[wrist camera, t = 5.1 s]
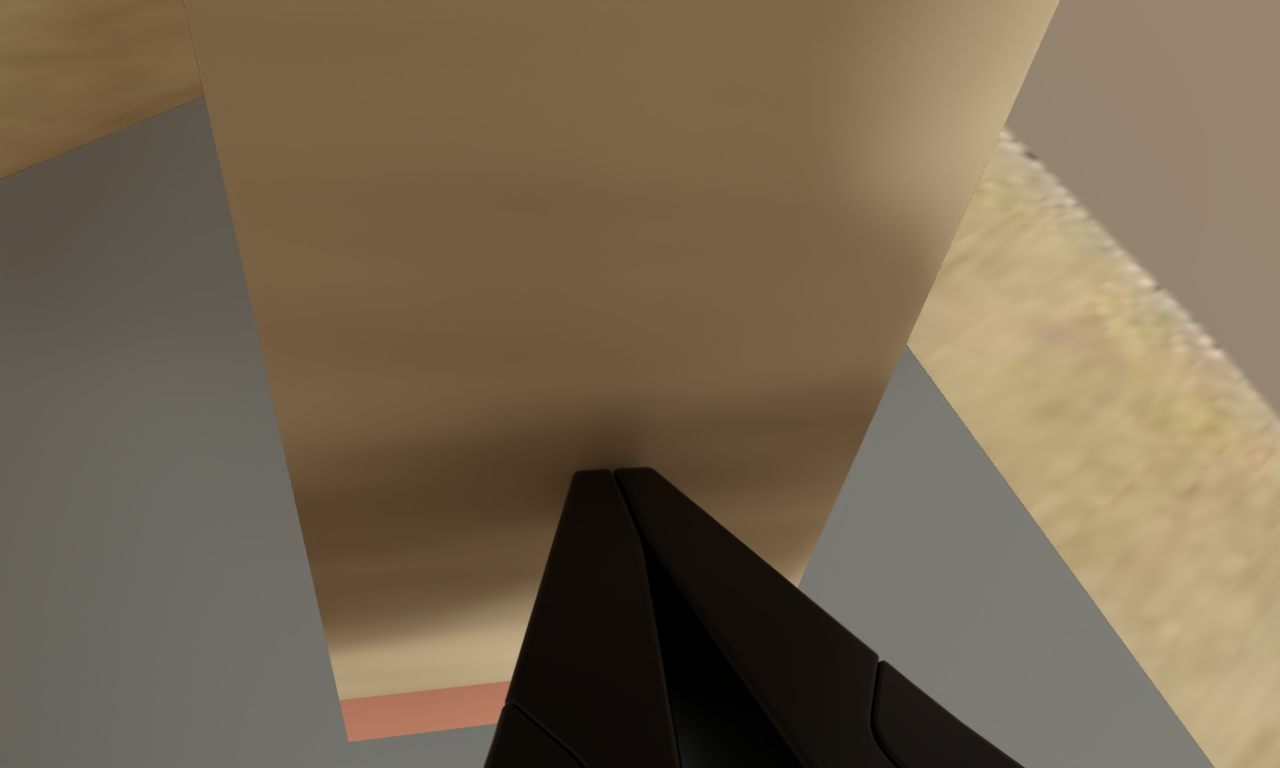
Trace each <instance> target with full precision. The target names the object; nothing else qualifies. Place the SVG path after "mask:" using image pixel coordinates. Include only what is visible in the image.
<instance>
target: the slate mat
mask: <svg viewBox="0 0 1280 768" xmlns="http://www.w3.org/2000/svg"><path fill="white" fill-rule="evenodd" d="M797 588H799V589H800V590H801V591H802V592H803V593H805V594H806V595H807V596H808V597H809V598H811V599H812V600H813V601H814V602H815V603H817V604H818V605H819V606H820V607H822V608H823V609H824V610H825V611H826V612H828V613H829V614H830V615H831V616H832V617H834V618H835V619H836V620H837V621H838V622H840V623H841V624H842V625H843V626H845V627H846V628H847V629H848V630H849V631H851V632H852V633H853V634H854V635H855V636H857V637H858V638H859V639H860V640H861V641H863V642H864V643H865V644H866V645H867V646H869V647H870V648H871V649H872V650H874V651H875V652H876V653H877V654H878V655H879V662H880V661H882V660H885V661H887V662H888V663H890V664H891V665H892V666H893V667H895V668H896V669H897V670H898V671H899V672H901V673H902V674H903V675H904V676H905V677H907V678H908V679H909V680H910V681H911V682H913V683H914V684H915V685H916V686H918V687H919V688H920V689H921V690H923V691H924V692H925V693H926V694H928V695H929V696H930V697H931V698H933V699H934V700H935V701H937V702H938V703H939V704H940V705H942V706H943V707H944V708H945V709H947V710H948V711H949V712H950V713H952V714H953V715H954V716H956V717H957V718H958V719H959V720H961V721H962V722H963V723H964V724H966V725H967V726H969V727H970V728H971V729H973V730H974V731H975V732H977V733H978V734H980V735H981V736H982V737H984V738H985V739H986V740H988V741H989V742H991V743H992V744H993V745H995V746H996V747H997V748H999V749H1000V750H1002V751H1003V752H1004V753H1006V754H1007V755H1008V756H1010V757H1011V758H1013V759H1014V760H1015V761H1017V762H1018V763H1019V764H1021V765H1022V766H1024V767H1025V768H1214V766H1213V765H1212V764H1211V762H1210V761H1209V759H1208V758H1207V757H1206V755H1205V754H1204V753H1203V751H1202V750H1201V748H1200V747H1199V746H1198V744H1197V743H1196V742H1195V740H1194V739H1193V737H1192V736H1191V735H1190V733H1189V732H1188V731H1187V729H1186V728H1185V726H1184V725H1183V724H1182V722H1181V721H1180V720H1179V718H1178V717H1177V716H1176V714H1175V713H1174V711H1173V710H1172V709H1171V707H1170V706H1169V705H1168V703H1167V702H1166V700H1165V699H1164V698H1163V696H1162V695H1161V694H1160V692H1159V691H1158V689H1157V688H1156V687H1155V685H1154V684H1153V683H1152V681H1151V680H1150V678H1149V677H1148V676H1147V674H1146V673H1145V672H1144V670H1143V669H1142V667H1141V666H1140V665H1139V663H1138V662H1137V661H1136V659H1135V658H1134V656H1133V655H1132V654H1131V652H1130V651H1129V650H1128V648H1127V647H1126V645H1125V644H1124V643H1123V641H1122V640H1121V639H1120V637H1119V636H1118V634H1117V633H1116V632H1115V630H1114V629H1113V628H1112V626H1111V625H1110V624H1109V622H1108V621H1107V619H1106V618H1105V617H1104V615H1103V614H1102V613H1101V611H1100V610H1099V608H1098V607H1097V606H1096V604H1095V603H1094V602H1093V600H1092V599H1091V597H1090V596H1089V595H1088V593H1087V592H1086V591H1085V589H1084V588H1083V586H1082V585H1081V584H1080V582H1079V581H1078V580H1077V578H1076V577H1075V575H1074V574H1073V573H1072V571H1071V570H1070V569H1069V567H1068V566H1067V564H1066V563H1065V562H1064V560H1063V559H1062V558H1061V556H1060V555H1059V553H1058V552H1057V551H1056V549H1055V548H1054V547H1053V545H1052V544H1051V542H1050V541H1049V540H1048V538H1047V537H1046V536H1045V534H1044V533H1043V532H1042V530H1041V529H1040V527H1039V526H1038V525H1037V523H1036V522H1035V521H1034V519H1033V518H1032V516H1031V515H1030V514H1029V512H1028V511H1027V510H1026V508H1025V507H1024V505H1023V504H1022V503H1021V501H1020V500H1019V499H1018V497H1017V496H1016V494H1015V493H1014V492H1013V490H1012V489H1011V488H1010V486H1009V485H1008V483H1007V482H1006V481H1005V479H1004V478H1003V477H1002V475H1001V474H1000V472H999V471H998V470H997V468H996V467H995V466H994V464H993V463H992V461H991V460H990V459H989V457H988V456H987V455H986V453H985V452H984V450H983V449H982V448H981V446H980V445H979V444H978V442H977V441H976V440H975V438H974V437H973V435H972V434H971V433H970V431H969V430H968V429H967V427H966V426H965V424H964V423H963V422H962V420H961V419H960V418H959V416H958V415H957V413H956V412H955V411H954V409H953V408H952V407H951V405H950V404H949V402H948V401H947V400H946V398H945V397H944V396H943V394H942V393H941V391H940V390H939V389H938V387H937V386H936V385H935V383H934V382H933V380H932V379H931V378H930V376H929V375H928V374H927V372H926V371H925V369H924V368H923V367H922V365H921V364H920V363H919V361H918V360H917V358H916V357H915V356H914V354H913V353H912V352H911V350H910V349H909V348H908V346H907V345H905V347H904V350H903V352H902V354H901V356H900V359H899V361H898V363H897V365H896V368H895V370H894V372H893V374H892V377H891V379H890V381H889V383H888V385H887V388H886V390H885V392H884V394H883V397H882V399H881V401H880V403H879V406H878V408H877V410H876V412H875V415H874V417H873V419H872V421H871V423H870V426H869V428H868V430H867V432H866V435H865V437H864V439H863V441H862V444H861V446H860V448H859V450H858V453H857V455H856V457H855V459H854V461H853V464H852V466H851V468H850V470H849V473H848V475H847V477H846V479H845V482H844V484H843V486H842V488H841V491H840V493H839V495H838V497H837V499H836V502H835V504H834V506H833V508H832V511H831V513H830V515H829V517H828V520H827V522H826V524H825V526H824V529H823V531H822V533H821V535H820V537H819V540H818V542H817V544H816V546H815V549H814V551H813V553H812V555H811V558H810V560H809V562H808V564H807V567H806V569H805V571H804V573H803V576H802V578H801V580H800V582H799V584H798V587H797ZM496 727H497V723H496V724H488V725H480V726H472V727H464V728H456V729H448V730H440V731H432V732H424V733H417V734H409V735H401V736H393V737H385V738H377V739H369V740H361V741H353V742H349V741H348V737H347V732H346V728H345V723H344V719H343V714H342V710H341V705H340V701H339V696H338V692H337V687H336V683H335V678H334V674H333V669H332V665H331V661H330V656H329V652H328V647H327V643H326V638H325V634H324V629H323V625H322V620H321V616H320V611H319V607H318V602H317V598H316V593H315V589H314V584H313V580H312V575H311V571H310V566H309V562H308V557H307V553H306V549H305V544H304V540H303V535H302V531H301V526H300V522H299V517H298V513H297V508H296V504H295V499H294V495H293V490H292V486H291V481H290V477H289V472H288V468H287V463H286V459H285V454H284V450H283V445H282V441H281V436H280V432H279V428H278V423H277V419H276V414H275V410H274V405H273V401H272V396H271V392H270V387H269V383H268V378H267V374H266V369H265V365H264V360H263V356H262V351H261V347H260V342H259V338H258V333H257V329H256V324H255V320H254V316H253V311H252V307H251V302H250V298H249V293H248V289H247V284H246V280H245V275H244V271H243V266H242V262H241V257H240V253H239V248H238V244H237V239H236V235H235V230H234V226H233V221H232V217H231V212H230V208H229V204H228V199H227V195H226V190H225V186H224V181H223V177H222V172H221V168H220V163H219V159H218V154H217V150H216V145H215V141H214V136H213V132H212V127H211V123H210V118H209V114H208V109H207V105H206V100H205V96H203V97H201V98H198V99H196V100H193V101H191V102H188V103H186V104H183V105H181V106H179V107H176V108H174V109H171V110H169V111H166V112H164V113H161V114H159V115H157V116H154V117H152V118H149V119H147V120H144V121H142V122H139V123H137V124H135V125H132V126H130V127H127V128H125V129H122V130H120V131H117V132H115V133H112V134H110V135H108V136H105V137H103V138H100V139H98V140H95V141H93V142H90V143H88V144H86V145H83V146H81V147H78V148H76V149H73V150H71V151H68V152H66V153H64V154H61V155H59V156H56V157H54V158H51V159H49V160H46V161H44V162H41V163H39V164H37V165H34V166H32V167H29V168H27V169H24V170H22V171H19V172H17V173H15V174H12V175H10V176H7V177H5V178H2V179H0V768H483V766H484V763H485V760H486V758H487V755H488V752H489V749H490V746H491V743H492V740H493V737H494V733H495V730H496Z"/></svg>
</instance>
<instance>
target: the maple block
mask: <svg viewBox="0 0 1280 768" xmlns="http://www.w3.org/2000/svg"><path fill="white" fill-rule="evenodd" d="M1059 1H1060V0H183V2H184V6H185V11H186V15H187V20H188V24H189V29H190V33H191V38H192V42H193V47H194V51H195V56H196V60H197V65H198V69H199V74H200V78H201V83H202V87H203V91H204V96H205V100H206V105H207V109H208V114H209V118H210V123H211V127H212V132H213V136H214V141H215V145H216V150H217V154H218V159H219V163H220V168H221V172H222V177H223V181H224V186H225V190H226V195H227V199H228V204H229V208H230V212H231V217H232V221H233V226H234V230H235V235H236V239H237V244H238V248H239V253H240V257H241V262H242V266H243V271H244V275H245V280H246V284H247V289H248V293H249V298H250V302H251V307H252V311H253V316H254V320H255V324H256V329H257V333H258V338H259V342H260V347H261V351H262V356H263V360H264V365H265V369H266V374H267V378H268V383H269V387H270V392H271V396H272V401H273V405H274V410H275V414H276V419H277V423H278V428H279V432H280V436H281V441H282V445H283V450H284V454H285V459H286V463H287V468H288V472H289V477H290V481H291V486H292V490H293V495H294V499H295V504H296V508H297V513H298V517H299V522H300V526H301V531H302V535H303V540H304V544H305V549H306V553H307V557H308V562H309V566H310V571H311V575H312V580H313V584H314V589H315V593H316V598H317V602H318V607H319V611H320V616H321V620H322V625H323V629H324V634H325V638H326V643H327V647H328V652H329V656H330V661H331V665H332V669H333V674H334V678H335V683H336V687H337V692H338V696H339V701H340V705H341V710H342V714H343V719H344V723H345V728H346V732H347V737H348V741H349V742H353V741H361V740H369V739H377V738H385V737H393V736H401V735H409V734H417V733H424V732H432V731H440V730H448V729H456V728H464V727H472V726H480V725H488V724H496V723H498V720H499V717H500V713H501V710H502V708H503V707H504V706H505V699H506V695H507V692H508V689H509V685H510V682H511V679H512V675H513V672H514V669H515V665H516V662H517V659H518V655H519V652H520V649H521V645H522V642H523V639H524V635H525V632H526V629H527V625H528V622H529V619H530V616H531V612H532V609H533V606H534V602H535V599H536V596H537V592H538V589H539V586H540V582H541V579H542V576H543V572H544V569H545V566H546V562H547V559H548V556H549V552H550V549H551V546H552V542H553V539H554V536H555V532H556V529H557V526H558V522H559V519H560V516H561V513H562V509H563V506H564V503H565V499H566V496H567V493H568V489H569V486H570V483H571V479H572V476H573V474H574V473H575V472H576V471H579V470H595V469H608V470H610V471H612V472H613V473H614V471H615V470H616V469H618V468H631V467H651V468H653V469H655V470H656V471H657V472H658V473H660V474H661V475H662V476H663V477H664V478H666V479H667V480H668V481H669V482H670V483H672V484H673V485H674V486H675V487H677V488H678V489H679V490H680V491H681V492H683V493H684V494H685V495H686V496H687V497H689V498H690V499H691V500H692V501H693V502H695V503H696V504H697V505H698V506H699V507H701V508H702V509H703V510H704V511H706V512H707V513H708V514H709V515H710V516H712V517H713V518H714V519H715V520H716V521H718V522H719V523H720V524H721V525H722V526H724V527H725V528H726V529H727V530H728V531H730V532H731V533H732V534H733V535H735V536H736V537H737V538H738V539H739V540H741V541H742V542H743V543H744V544H745V545H747V546H748V547H749V548H750V549H751V550H753V551H754V552H755V553H756V554H757V555H759V556H760V557H761V558H762V559H764V560H765V561H766V562H767V563H768V564H770V565H771V566H772V567H773V568H774V569H776V570H777V571H778V572H779V573H780V574H782V575H783V576H784V577H785V578H786V579H788V580H789V581H790V582H791V583H793V584H794V585H795V586H796V587H798V584H799V582H800V580H801V578H802V576H803V573H804V571H805V569H806V567H807V564H808V562H809V560H810V558H811V555H812V553H813V551H814V549H815V546H816V544H817V542H818V540H819V537H820V535H821V533H822V531H823V529H824V526H825V524H826V522H827V520H828V517H829V515H830V513H831V511H832V508H833V506H834V504H835V502H836V499H837V497H838V495H839V493H840V491H841V488H842V486H843V484H844V482H845V479H846V477H847V475H848V473H849V470H850V468H851V466H852V464H853V461H854V459H855V457H856V455H857V453H858V450H859V448H860V446H861V444H862V441H863V439H864V437H865V435H866V432H867V430H868V428H869V426H870V423H871V421H872V419H873V417H874V415H875V412H876V410H877V408H878V406H879V403H880V401H881V399H882V397H883V394H884V392H885V390H886V388H887V385H888V383H889V381H890V379H891V377H892V374H893V372H894V370H895V368H896V365H897V363H898V361H899V359H900V356H901V354H902V352H903V350H904V347H905V345H906V343H907V341H908V338H909V336H910V334H911V332H912V330H913V327H914V325H915V323H916V321H917V318H918V316H919V314H920V312H921V309H922V307H923V305H924V303H925V300H926V298H927V296H928V294H929V292H930V289H931V287H932V285H933V283H934V280H935V278H936V276H937V274H938V271H939V269H940V267H941V265H942V262H943V260H944V258H945V256H946V254H947V251H948V249H949V247H950V245H951V242H952V240H953V238H954V236H955V233H956V231H957V229H958V227H959V224H960V222H961V220H962V218H963V216H964V213H965V211H966V209H967V207H968V204H969V202H970V200H971V198H972V195H973V193H974V191H975V189H976V186H977V184H978V182H979V180H980V178H981V175H982V173H983V171H984V169H985V166H986V164H987V162H988V160H989V157H990V155H991V153H992V151H993V148H994V146H995V144H996V142H997V139H998V137H999V135H1000V133H1001V131H1002V128H1003V126H1004V124H1005V122H1006V119H1007V117H1008V115H1009V113H1010V110H1011V108H1012V106H1013V104H1014V101H1015V99H1016V97H1017V95H1018V93H1019V90H1020V88H1021V86H1022V84H1023V81H1024V79H1025V77H1026V75H1027V72H1028V70H1029V68H1030V66H1031V63H1032V61H1033V59H1034V57H1035V54H1036V52H1037V50H1038V48H1039V46H1040V43H1041V41H1042V39H1043V36H1044V34H1045V32H1046V30H1047V28H1048V25H1049V23H1050V21H1051V19H1052V17H1053V14H1054V12H1055V10H1056V8H1057V5H1058V3H1059Z"/></svg>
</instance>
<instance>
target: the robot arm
mask: <svg viewBox="0 0 1280 768" xmlns="http://www.w3.org/2000/svg"><path fill="white" fill-rule="evenodd" d="M483 768H1025V767H1024V766H1022V765H1021V764H1019V763H1018V762H1017V761H1015V760H1014V759H1013V758H1011V757H1010V756H1008V755H1007V754H1006V753H1004V752H1003V751H1002V750H1000V749H999V748H997V747H996V746H995V745H993V744H992V743H991V742H989V741H988V740H986V739H985V738H984V737H982V736H981V735H980V734H978V733H977V732H975V731H974V730H973V729H971V728H970V727H969V726H967V725H966V724H964V723H963V722H962V721H961V720H959V719H958V718H957V717H956V716H954V715H953V714H952V713H950V712H949V711H948V710H947V709H945V708H944V707H943V706H942V705H940V704H939V703H938V702H937V701H935V700H934V699H933V698H931V697H930V696H929V695H928V694H926V693H925V692H924V691H923V690H921V689H920V688H919V687H918V686H916V685H915V684H914V683H913V682H911V681H910V680H909V679H908V678H907V677H905V676H904V675H903V674H902V673H901V672H899V671H898V670H897V669H896V668H895V667H893V666H892V665H891V664H890V663H888V662H887V661H885V660H882V661H880V662H879V655H878V654H877V653H876V652H875V651H874V650H872V649H871V648H870V647H869V646H867V645H866V644H865V643H864V642H863V641H861V640H860V639H859V638H858V637H857V636H855V635H854V634H853V633H852V632H851V631H849V630H848V629H847V628H846V627H845V626H843V625H842V624H841V623H840V622H838V621H837V620H836V619H835V618H834V617H832V616H831V615H830V614H829V613H828V612H826V611H825V610H824V609H823V608H822V607H820V606H819V605H818V604H817V603H815V602H814V601H813V600H812V599H811V598H809V597H808V596H807V595H806V594H805V593H803V592H802V591H801V590H800V589H799V588H797V587H796V586H795V585H794V584H793V583H791V582H790V581H789V580H788V579H786V578H785V577H784V576H783V575H782V574H780V573H779V572H778V571H777V570H776V569H774V568H773V567H772V566H771V565H770V564H768V563H767V562H766V561H765V560H764V559H762V558H761V557H760V556H759V555H757V554H756V553H755V552H754V551H753V550H751V549H750V548H749V547H748V546H747V545H745V544H744V543H743V542H742V541H741V540H739V539H738V538H737V537H736V536H735V535H733V534H732V533H731V532H730V531H728V530H727V529H726V528H725V527H724V526H722V525H721V524H720V523H719V522H718V521H716V520H715V519H714V518H713V517H712V516H710V515H709V514H708V513H707V512H706V511H704V510H703V509H702V508H701V507H699V506H698V505H697V504H696V503H695V502H693V501H692V500H691V499H690V498H689V497H687V496H686V495H685V494H684V493H683V492H681V491H680V490H679V489H678V488H677V487H675V486H674V485H673V484H672V483H670V482H669V481H668V480H667V479H666V478H664V477H663V476H662V475H661V474H660V473H658V472H657V471H656V470H655V469H653V468H651V467H631V468H618V469H616V470H615V471H614V473H613V472H612V471H610V470H608V469H595V470H579V471H576V472H575V473H574V474H573V476H572V479H571V483H570V486H569V489H568V493H567V496H566V499H565V503H564V506H563V509H562V513H561V516H560V519H559V522H558V526H557V529H556V532H555V536H554V539H553V542H552V546H551V549H550V552H549V556H548V559H547V562H546V566H545V569H544V572H543V576H542V579H541V582H540V586H539V589H538V592H537V596H536V599H535V602H534V606H533V609H532V612H531V616H530V619H529V622H528V625H527V629H526V632H525V635H524V639H523V642H522V645H521V649H520V652H519V655H518V659H517V662H516V665H515V669H514V672H513V675H512V679H511V682H510V685H509V689H508V692H507V695H506V699H505V706H504V707H503V708H502V710H501V713H500V717H499V720H498V723H497V727H496V730H495V733H494V737H493V740H492V743H491V746H490V749H489V752H488V755H487V758H486V760H485V763H484V766H483Z"/></svg>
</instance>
